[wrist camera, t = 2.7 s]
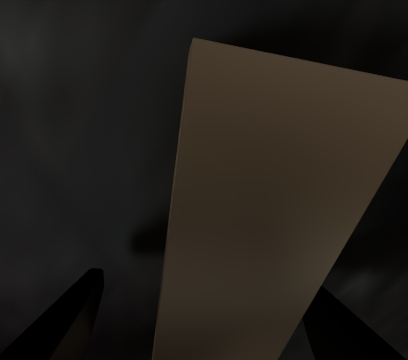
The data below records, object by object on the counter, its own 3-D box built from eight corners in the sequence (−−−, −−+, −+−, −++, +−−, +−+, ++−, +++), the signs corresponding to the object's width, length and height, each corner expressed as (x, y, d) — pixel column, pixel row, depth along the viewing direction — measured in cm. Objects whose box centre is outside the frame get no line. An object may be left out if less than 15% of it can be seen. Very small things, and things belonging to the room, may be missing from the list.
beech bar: (213, 349, 13) (223, 452, 10) (153, 348, 13) (141, 456, 9) (306, 73, 7) (438, 87, 3) (189, 50, 6) (194, 37, 3)
